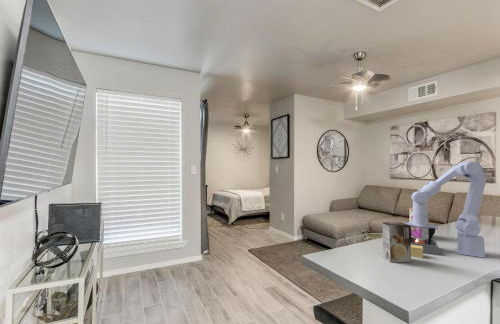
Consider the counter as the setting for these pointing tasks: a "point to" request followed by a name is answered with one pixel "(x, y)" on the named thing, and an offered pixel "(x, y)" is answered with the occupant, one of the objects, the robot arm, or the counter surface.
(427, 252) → the tote
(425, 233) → the candy bar box
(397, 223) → the coffee box
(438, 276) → the counter surface
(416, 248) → the tan block
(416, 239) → the bean tin
